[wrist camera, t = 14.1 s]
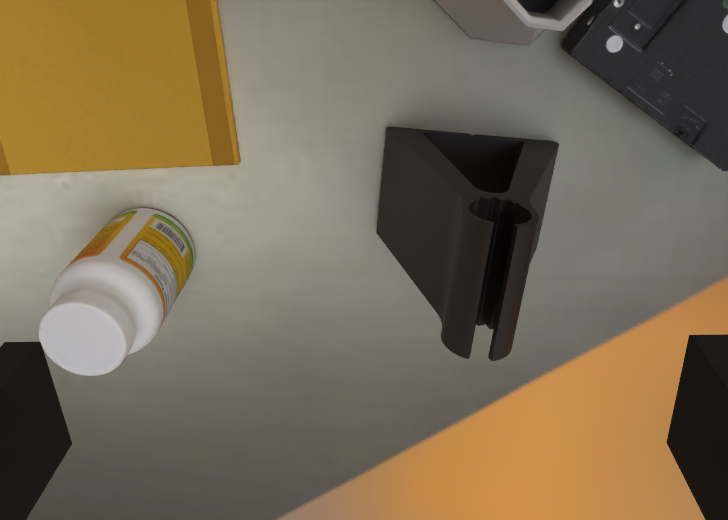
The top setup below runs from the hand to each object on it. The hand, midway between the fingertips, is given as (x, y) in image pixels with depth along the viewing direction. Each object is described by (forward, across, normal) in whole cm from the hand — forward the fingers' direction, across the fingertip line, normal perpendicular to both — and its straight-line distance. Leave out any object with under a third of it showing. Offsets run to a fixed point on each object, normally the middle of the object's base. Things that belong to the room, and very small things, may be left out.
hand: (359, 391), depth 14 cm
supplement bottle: (+24, -14, -8) cm, 28 cm away
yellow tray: (+24, -15, +5) cm, 28 cm away
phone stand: (+24, +4, -5) cm, 25 cm away
